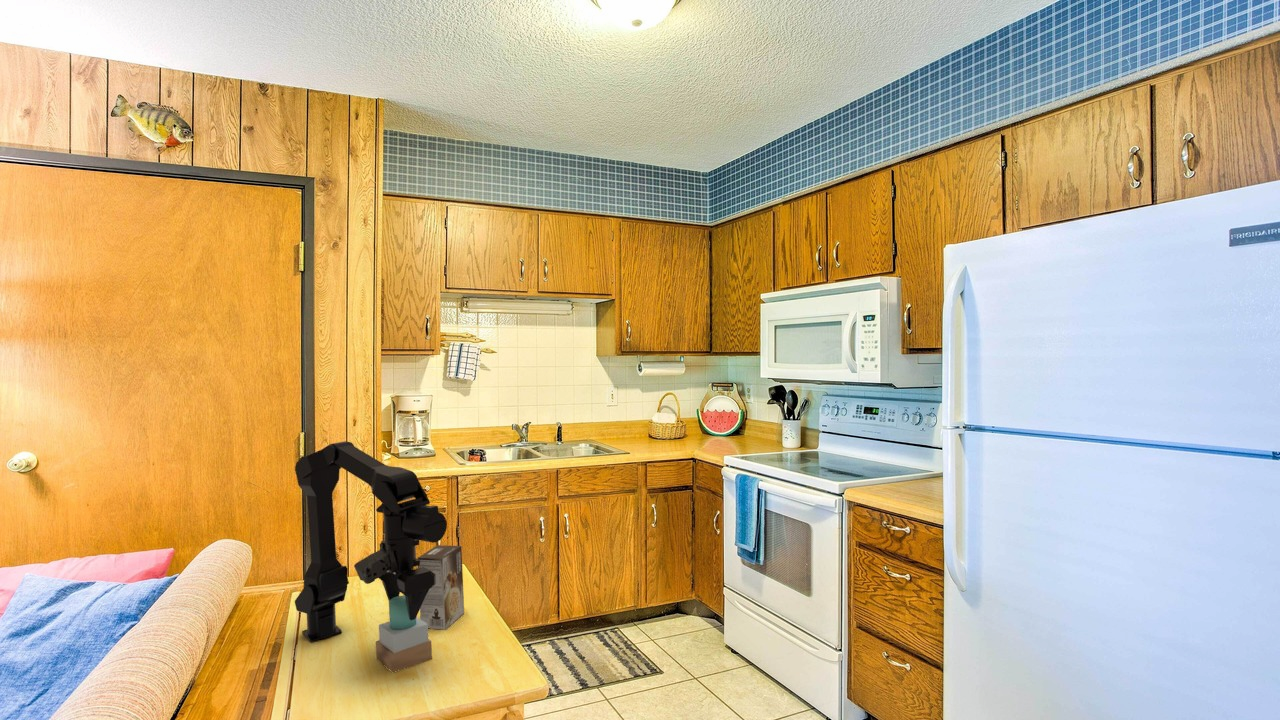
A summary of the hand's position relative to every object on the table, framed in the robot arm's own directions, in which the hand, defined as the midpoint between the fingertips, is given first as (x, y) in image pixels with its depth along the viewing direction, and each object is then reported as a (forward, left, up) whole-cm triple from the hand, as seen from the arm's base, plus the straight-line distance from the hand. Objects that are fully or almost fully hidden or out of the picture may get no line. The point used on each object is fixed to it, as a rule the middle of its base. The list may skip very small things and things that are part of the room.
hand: (402, 612), depth 135 cm
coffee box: (-12, +14, -10) cm, 21 cm away
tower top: (0, 0, -6) cm, 6 cm away
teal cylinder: (0, 0, -2) cm, 2 cm away
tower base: (0, 0, -10) cm, 10 cm away
